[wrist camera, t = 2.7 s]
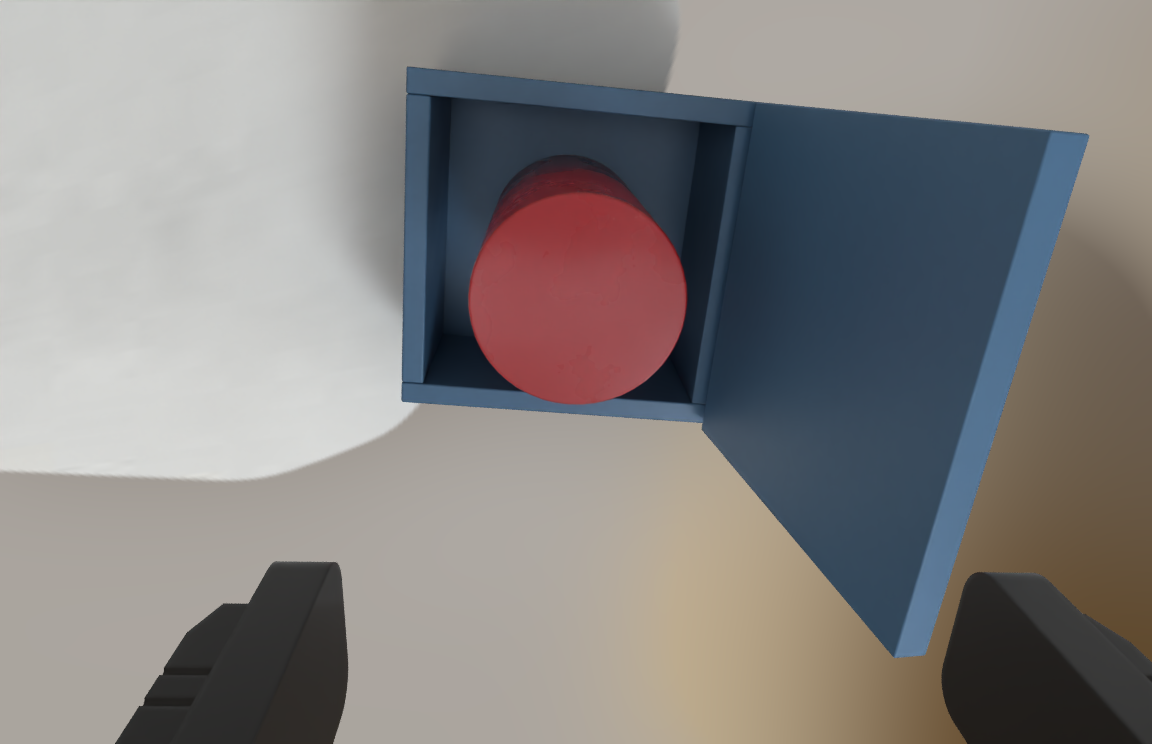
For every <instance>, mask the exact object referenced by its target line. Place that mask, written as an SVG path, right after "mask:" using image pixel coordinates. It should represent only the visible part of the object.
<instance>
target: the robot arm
mask: <svg viewBox="0 0 1152 744" xmlns="http://www.w3.org/2000/svg"><path fill="white" fill-rule="evenodd" d="M347 682H348V654H347V640H346V627H345V615H344V601H343V589H342V577H341V570H340V567H339V565H338V564H337V563H336V562H277V561H276V562H274V563H272V564H271V565H270V567H269V568H268V570H267V572H266V573H265V575H264V577H263V579H262V581H261V582H260V584H259V586H258V588H257V589H256V591H255V593H254V595H253V596H252V598H251V600H250V602H249V604H223V605H221V606H220V607H219V608H217V609H216V610H215V611H214V612H212V613H211V614H210V615H209V616H208V617H206V618H205V619H204V620H202V621H201V622H200V623H198V624H197V625H196V626H195V627H193V628H192V629H191V630H190V631H189V632H187V633H186V635H185V636H184V638H183V639H182V641H181V642H180V644H179V646H178V647H177V649H176V650H175V652H174V653H173V655H172V656H171V658H170V659H169V661H168V663H167V664H166V666H165V667H164V673H163V675H159V677H158V678H157V680H156V681H155V683H154V684H153V686H152V687H151V689H150V690H149V692H148V694H147V695H146V697H145V701H144V705H143V706H139V707H138V709H137V711H136V712H135V714H134V715H133V717H132V719H131V720H130V722H129V723H128V724H127V726H126V728H125V729H124V731H123V732H122V734H121V735H120V737H119V738H118V740H117V742H116V743H115V744H333V742H334V739H335V735H336V732H337V729H338V726H339V723H340V719H341V716H342V713H343V709H344V704H345V698H346V691H347ZM942 690H943V696H944V699H945V704H946V707H947V709H948V712H949V714H950V716H951V718H952V720H953V722H954V723H955V725H956V727H957V728H958V730H959V731H960V733H961V734H962V736H963V737H964V739H965V740H966V742H967V744H1152V662H1151V661H1150V660H1149V659H1147V658H1146V657H1145V656H1144V655H1143V654H1142V653H1141V652H1140V651H1139V650H1138V649H1137V648H1136V647H1135V646H1134V645H1133V644H1132V643H1131V642H1129V641H1127V640H1126V639H1124V638H1123V637H1121V636H1119V635H1118V634H1116V633H1115V632H1113V631H1111V630H1110V629H1108V628H1107V627H1105V626H1103V625H1102V624H1100V623H1098V622H1097V621H1095V620H1094V619H1092V618H1090V617H1089V616H1087V615H1086V614H1082V613H1081V612H1080V611H1079V610H1078V609H1077V608H1076V607H1075V606H1074V605H1073V604H1072V603H1071V602H1070V601H1069V600H1068V599H1067V598H1066V597H1065V596H1064V595H1063V594H1062V593H1061V592H1060V591H1059V590H1057V588H1056V587H1054V586H1053V584H1052V583H1050V582H1049V581H1048V580H1047V579H1046V578H1045V577H1043V576H1041V575H1039V574H1036V573H987V572H984V573H983V572H977V573H974V574H972V575H971V576H970V577H969V578H968V580H967V581H966V583H965V585H964V589H963V592H962V596H961V600H960V604H959V607H958V611H957V614H956V618H955V622H954V626H953V629H952V633H951V637H950V641H949V645H948V648H947V652H946V656H945V659H944V663H943V668H942Z"/></svg>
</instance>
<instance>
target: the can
mask: <svg viewBox="0 0 1152 744" xmlns="http://www.w3.org/2000/svg"><path fill="white" fill-rule="evenodd" d="M468 309H469V316H470V322H471V326H472V329H473V332H474V336H475V338H476V340H477V342H478V344H479V347H480V349H481V350H482V352H483V354H484V355H485V357H486V358H487V360H488V361H489V362H490V364H491V365H492V366H493V367H494V368H495V370H496V371H497V372H498V373H499V374H501V375H502V376H503V377H504V378H505V379H506V380H507V381H509V382H510V383H511V384H513V385H514V386H515V387H517V388H519V389H520V390H522V391H524V392H526V393H528V394H530V395H532V396H535V397H537V398H540V399H543V400H547V401H551V402H554V403H562V404H576V405H583V404H592V403H598V402H602V401H607V400H610V399H613V398H616V397H618V396H621V395H623V394H625V393H627V392H629V391H631V390H633V389H635V388H636V387H638V386H639V385H641V384H642V383H644V382H645V381H646V380H647V379H649V378H650V377H651V376H652V375H653V374H654V373H655V372H656V371H657V370H658V369H659V368H660V367H661V366H662V365H663V364H664V362H665V361H666V360H667V358H668V357H669V355H670V354H671V352H672V351H673V349H674V347H675V345H676V343H677V341H678V339H679V337H680V334H681V331H682V328H683V325H684V321H685V316H686V310H687V283H686V278H685V273H684V269H683V266H682V263H681V260H680V257H679V255H678V253H677V251H676V249H675V247H674V245H673V244H672V242H671V241H670V239H669V238H668V236H667V235H666V233H665V232H664V231H663V230H662V229H661V227H660V226H659V225H658V224H657V222H656V221H655V220H654V219H653V217H652V216H651V215H650V214H649V213H648V211H647V210H646V209H645V208H644V206H643V205H642V204H641V203H640V201H639V200H638V199H637V198H636V197H635V195H634V194H633V193H632V192H631V190H630V189H629V188H628V187H627V185H626V184H625V183H624V182H623V181H622V180H621V179H620V177H619V176H618V175H617V174H615V173H614V172H613V171H612V170H611V169H609V168H608V167H606V166H605V165H603V164H601V163H599V162H597V161H595V160H593V159H590V158H586V157H583V156H577V155H556V156H551V157H547V158H543V159H541V160H538V161H536V162H534V163H532V164H530V165H528V166H527V167H525V168H524V169H522V170H521V171H520V172H518V173H517V174H516V175H515V176H514V177H513V178H512V179H511V181H510V182H509V183H508V184H507V186H506V187H505V189H504V190H503V192H502V194H501V196H500V198H499V200H498V203H497V205H496V208H495V211H494V213H493V216H492V219H491V221H490V224H489V227H488V229H487V232H486V235H485V237H484V240H483V242H482V245H481V248H480V250H479V253H478V256H477V258H476V261H475V264H474V266H473V270H472V274H471V278H470V283H469V292H468Z"/></svg>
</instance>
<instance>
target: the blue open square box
mask: <svg viewBox="0 0 1152 744" xmlns="http://www.w3.org/2000/svg"><path fill="white" fill-rule="evenodd" d="M406 92H407V93H409V94H407V96H406V149H405V212H404V274H403V336H402V381H403V382H402V398H401V400H402V401H403V402H413V403H428V404H442V405H456V406H470V407H484V408H499V409H512V410H527V411H542V412H555V413H569V414H584V415H598V416H612V417H626V418H640V419H654V420H668V421H684V422H697V423H703V418H704V412H705V406H706V400H707V394H708V388H709V382H710V376H711V370H712V364H713V358H714V352H715V347H716V341H717V335H718V329H719V323H720V317H721V311H722V305H723V299H724V293H725V287H726V281H727V275H728V269H729V263H730V257H731V251H732V245H733V239H734V233H735V227H736V221H737V215H738V209H739V203H740V198H741V192H742V186H743V180H744V174H745V168H746V162H747V156H748V150H749V144H750V138H751V132H752V126H753V120H754V114H755V108H756V103H757V102H752V101H742V100H732V99H722V98H712V97H702V96H693V95H682V94H673V93H663V92H653V91H643V90H634V89H624V88H614V87H604V86H594V85H584V84H575V83H565V82H555V81H545V80H535V79H525V78H516V77H506V76H496V75H486V74H476V73H466V72H457V71H447V70H437V69H427V68H417V67H407V77H406ZM556 155H577V156H583V157H586V158H590V159H593V160H595V161H597V162H599V163H601V164H603V165H605V166H606V167H608V168H609V169H611V170H612V171H613V172H614V173H615V174H617V175H618V176H619V177H620V179H621V180H622V181H623V182H624V183H625V184H626V185H627V187H628V188H629V189H630V190H631V192H632V193H633V194H634V195H635V197H636V198H637V199H638V200H639V201H640V203H641V204H642V205H643V206H644V208H645V209H646V210H647V211H648V213H649V214H650V215H651V216H652V217H653V219H654V220H655V221H656V222H657V224H658V225H659V226H660V227H661V229H662V230H663V231H664V232H665V233H666V235H667V236H668V238H669V239H670V241H671V242H672V244H673V245H674V247H675V249H676V251H677V253H678V255H679V257H680V260H681V263H682V266H683V269H684V273H685V278H686V283H687V310H686V316H685V321H684V325H683V328H682V331H681V334H680V337H679V339H678V341H677V343H676V345H675V347H674V349H673V351H672V352H671V354H670V355H669V357H668V358H667V360H666V361H665V362H664V364H663V365H662V366H661V367H660V368H659V369H658V370H657V371H656V372H655V373H654V374H653V375H652V376H651V377H650V378H649V379H647V380H646V381H645V382H644V383H642V384H641V385H639V386H638V387H636V388H635V389H633V390H631V391H629V392H627V393H625V394H623V395H621V396H618V397H616V398H613V399H610V400H607V401H602V402H598V403H592V404H583V405H576V404H562V403H554V402H551V401H547V400H543V399H540V398H537V397H535V396H532V395H530V394H528V393H526V392H524V391H522V390H520V389H519V388H517V387H515V386H514V385H513V384H511V383H510V382H509V381H507V380H506V379H505V378H504V377H503V376H502V375H501V374H499V373H498V372H497V371H496V370H495V368H494V367H493V366H492V365H491V364H490V362H489V361H488V360H487V358H486V357H485V355H484V354H483V352H482V350H481V349H480V347H479V344H478V342H477V340H476V338H475V336H474V332H473V329H472V326H471V322H470V316H469V309H468V292H469V283H470V278H471V274H472V270H473V266H474V264H475V261H476V258H477V256H478V253H479V250H480V248H481V245H482V242H483V240H484V237H485V235H486V232H487V229H488V227H489V224H490V221H491V219H492V216H493V213H494V211H495V208H496V205H497V203H498V200H499V198H500V196H501V194H502V192H503V190H504V189H505V187H506V186H507V184H508V183H509V182H510V181H511V179H512V178H513V177H514V176H515V175H516V174H517V173H518V172H520V171H521V170H522V169H524V168H525V167H527V166H528V165H530V164H532V163H534V162H536V161H538V160H541V159H543V158H547V157H551V156H556Z"/></svg>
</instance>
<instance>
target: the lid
mask: <svg viewBox="0 0 1152 744" xmlns="http://www.w3.org/2000/svg"><path fill="white" fill-rule="evenodd" d="M1088 139H1089V135H1088V134H1084V133H1074V132H1063V131H1055V130H1054V131H1053V130H1044V129H1033V128H1022V127H1013V126H1002V125H992V124H982V123H971V122H961V121H950V120H940V119H928V118H918V117H908V116H898V115H888V114H877V113H866V112H856V111H845V110H835V109H825V108H815V107H804V106H793V105H783V104H772V103H762V102H757V103H756V108H755V114H754V120H753V126H752V132H751V138H750V144H749V150H748V156H747V162H746V168H745V174H744V180H743V186H742V192H741V198H740V203H739V209H738V215H737V221H736V227H735V233H734V239H733V245H732V251H731V257H730V263H729V269H728V275H727V281H726V287H725V293H724V299H723V305H722V311H721V317H720V323H719V329H718V335H717V341H716V347H715V352H714V358H713V364H712V370H711V376H710V382H709V388H708V394H707V400H706V406H705V412H704V418H703V424H702V430H703V431H704V433H705V434H706V435H707V436H708V438H709V439H710V440H711V441H712V442H713V444H714V445H715V446H716V447H717V448H718V449H719V451H721V453H722V454H723V455H724V457H725V458H726V459H727V460H728V461H729V463H730V464H731V465H732V466H733V467H734V468H735V470H736V471H737V472H738V473H739V474H740V476H742V478H743V479H744V480H745V481H746V483H747V484H748V485H749V486H750V487H751V489H752V490H753V491H754V492H755V493H756V494H757V496H758V497H759V498H760V499H761V500H762V502H763V503H764V504H765V505H766V506H767V508H768V509H769V510H770V511H771V512H772V514H773V515H774V516H775V517H776V518H777V520H779V522H780V523H781V524H782V525H783V527H784V528H785V529H786V530H787V531H788V532H789V534H790V535H791V536H792V537H793V538H794V540H795V541H796V542H797V543H798V544H799V545H800V547H801V548H802V549H803V550H804V552H805V553H806V554H807V555H808V556H809V557H810V559H811V560H812V561H813V562H814V563H815V565H816V566H817V567H818V568H819V569H820V571H821V572H822V573H823V574H824V575H825V576H826V578H827V579H828V580H829V581H830V582H831V584H832V585H833V586H834V587H835V588H836V590H837V591H838V592H839V593H840V594H841V595H842V597H843V598H844V599H845V600H846V601H847V603H848V604H849V605H850V606H851V607H852V608H853V610H854V611H855V612H856V613H857V614H858V616H859V617H860V618H861V619H862V620H863V621H864V623H865V624H866V625H867V626H868V628H869V629H870V630H871V631H872V632H873V633H874V635H875V636H876V637H877V638H878V639H879V641H880V642H881V643H882V644H883V645H884V647H885V648H886V649H887V650H888V651H889V652H890V654H891V655H892V656H893V657H894V658H899V657H910V656H921V655H925V654H926V651H927V648H928V644H929V641H930V638H931V635H932V632H933V629H934V626H935V622H936V619H937V616H938V613H939V609H940V606H941V603H942V600H943V597H944V594H945V591H946V588H947V584H948V581H949V578H950V575H951V572H952V568H953V565H954V562H955V559H956V556H957V553H958V550H959V547H960V543H961V540H962V537H963V534H964V530H965V527H966V524H967V521H968V518H969V515H970V512H971V508H972V506H973V502H974V499H975V496H976V493H977V490H978V487H979V483H980V480H981V477H982V474H983V471H984V467H985V464H986V461H987V458H988V455H989V452H990V448H991V446H992V442H993V439H994V436H995V433H996V430H997V427H998V423H999V420H1000V417H1001V414H1002V411H1003V408H1004V404H1005V401H1006V398H1007V395H1008V392H1009V389H1010V385H1011V382H1012V379H1013V376H1014V373H1015V370H1016V367H1017V363H1018V360H1019V357H1020V354H1021V351H1022V348H1023V344H1024V341H1025V338H1026V335H1027V332H1028V328H1029V325H1030V322H1031V319H1032V316H1033V313H1034V310H1035V307H1036V303H1037V300H1038V297H1039V294H1040V291H1041V288H1042V284H1043V281H1044V278H1045V275H1046V272H1047V269H1048V265H1049V262H1050V259H1051V256H1052V252H1053V250H1054V247H1055V243H1056V240H1057V237H1058V234H1059V231H1060V228H1061V224H1062V221H1063V218H1064V215H1065V211H1066V209H1067V206H1068V202H1069V199H1070V196H1071V193H1072V190H1073V187H1074V183H1075V180H1076V177H1077V174H1078V170H1079V167H1080V164H1081V161H1082V158H1083V155H1084V152H1085V149H1086V146H1087V142H1088Z"/></svg>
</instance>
